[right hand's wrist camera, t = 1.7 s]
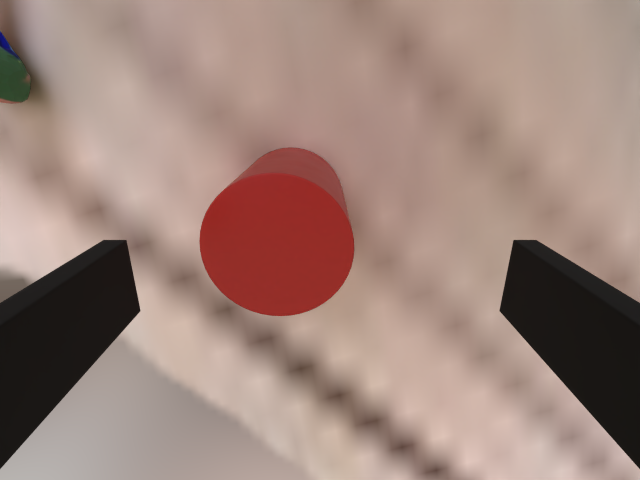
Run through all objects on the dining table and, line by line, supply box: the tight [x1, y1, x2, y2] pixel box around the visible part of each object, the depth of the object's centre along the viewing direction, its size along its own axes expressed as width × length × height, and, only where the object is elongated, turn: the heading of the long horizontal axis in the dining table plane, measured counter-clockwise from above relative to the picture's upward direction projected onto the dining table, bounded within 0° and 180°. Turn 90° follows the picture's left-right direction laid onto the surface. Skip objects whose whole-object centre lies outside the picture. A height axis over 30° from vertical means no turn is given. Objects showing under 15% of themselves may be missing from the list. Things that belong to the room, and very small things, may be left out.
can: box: [200, 148, 354, 316], centre depth 21 cm, size 7×7×10 cm
